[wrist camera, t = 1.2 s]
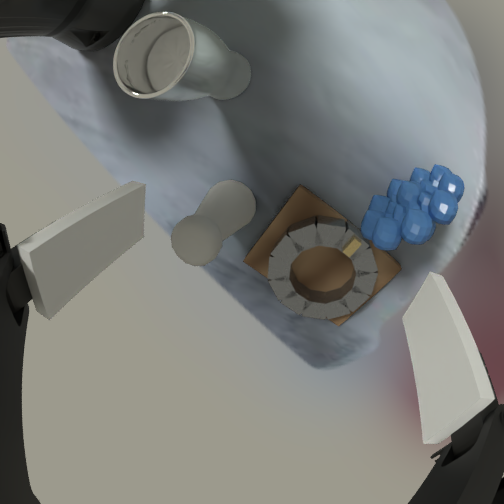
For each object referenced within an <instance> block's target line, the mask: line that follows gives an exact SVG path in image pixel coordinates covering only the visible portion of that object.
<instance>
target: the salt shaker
mask: <svg viewBox="0 0 504 504" xmlns="http://www.w3.org/2000/svg"><path fill="white" fill-rule="evenodd" d="M255 212H256V200H255V198H254V196H253V193H252V191H251V190H250V189H249V188H248V187H247V186H245V185H244V184H243V183H241V182H238V181H235V180H227V181H222V182H218V183H217V184H216V185H214V186H213V187H212V188H210V190H209V192H208V193H207V195H206V196H205V198H204V199H203V201H202V203H201V204H200V206H199V207H198V209H197V211H196V212H195V214H194V215H191V216H187V217H185V218H184V219H182V220H181V221H180V222H179V223H177V224H176V226H175V227H174V229H173V232H172V235H171V243H172V248H173V249H174V251H175V253H176V254H177V256H178V257H179V258H180V259H182V260H183V261H184V262H185V263H187V264H190V265H193V266H205V265H206V264H208V263H209V262H211V261H212V260H213V259H215V258H216V256H217V255H218V253H219V251H220V249H221V247H222V241H224V240H225V239H226V238H228V237H229V236H231V235H232V234H234V233H235V232H236V231H238V230H239V229H241V228H242V227H244V226H245V225H247V224H248V223H250V222H251V220H252V218H253V216H254V214H255Z"/></svg>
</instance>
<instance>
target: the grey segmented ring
mask: <svg viewBox="0 0 504 504" xmlns="http://www.w3.org/2000/svg"><path fill="white" fill-rule="evenodd" d="M316 246H325V247H331V248H337V249H339V250H340V251H341V252H343V253H344V254H345V255H347V256H348V257H349V258H350V259H351V260H352V263H353V266H354V268H353V272H352V276H351V278H350V279H349V280H348V281H347V282H346V283H345V284H344V285H343V286H342V287H340V288H337V289H334V290H330V291H327V292H323V291H317V290H311V289H309V288H308V287H306V286H305V285H303V284H302V283H300V282H299V281H298V280H297V278H296V276H295V273H294V271H293V269H292V262H293V261H294V260H295V259H296V258H297V256H298V255H299V254H300V253H301V252H302V251H305V250H307V249H310V248H313V247H316ZM377 275H378V268H377V265H376V261H375V258H374V254H373V251H372V248H371V245H370V242H369V240H368V239H366V238H365V237H363V235H362V233H361V231H360V230H359V229H358V228H356V227H355V226H354V225H353V224H351V223H350V222H349V221H348V220H347V221H346V222H345V219H341V218H335V217H328V216H322V215H318V220H317V218H316V216H312V217H310V218H307V219H304V220H301V221H299V222H296V223H293V224H291V226H290V227H289V226H288V228H287V229H286V230H285V231H284V233H283V234H282V235H281V237H280V238H279V239H278V240H277V242H276V243H275V244H274V246H273V249H272V251H271V254H270V256H269V267H268V279H269V280H268V282H269V284H270V286H271V288H272V289H273V291H274V293H275V295H276V297H277V299H278V301H279V300H281V302H280V303H282V304H283V305H285V306H286V307H288V308H289V309H291V310H292V311H294V312H295V313H297V314H298V315H300V314H301V313H302V312H303V313H302V316H304V317H310V318H317V319H323V320H325V319H326V317H327V319H332V318H336V317H340V316H343V315H347V314H351V312H350V311H352V312H354V311H355V310H356V309H357V308H358V307H359V306H361V305H362V304H363V303H364V302H365V301H366V300H367V299H368V298H369V297H370V295H372V292H373V288H374V285H375V282H376V279H377Z"/></svg>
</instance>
